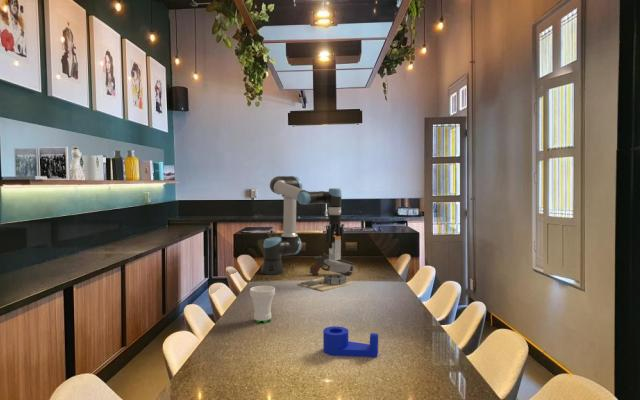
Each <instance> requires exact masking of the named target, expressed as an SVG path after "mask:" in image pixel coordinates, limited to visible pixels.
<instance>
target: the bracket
mask: <svg viewBox="0 0 640 400" xmlns="http://www.w3.org/2000/svg"><path fill="white" fill-rule="evenodd" d="M322 332H323V333H322V334H323V337H322V338H323V339H322V340H323V346H322V347H323V348H322V349H323V351H322V352H323V354H326V355H328V356H333V357H334V356H335V357H357V358H358V357H360V358H363V357H364V358H378V356H379V355H378V354H379V333H375V332H370V334H369V335H370V336H369V343H363V342H355V341H349V329H348V328H346V327H344V326H337V325H335V326H328V327H325V328H323V331H322Z"/></svg>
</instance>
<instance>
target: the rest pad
mask: <svg viewBox="0 0 640 400" xmlns="http://www.w3.org/2000/svg"><path fill="white" fill-rule="evenodd" d="M312 280H313V279H309V280H305V281H306V282H305V281H302V283H301V282H300V283H301V284H305V285H309V286H313V285H317V284H322V283H321V282H317V281H312Z"/></svg>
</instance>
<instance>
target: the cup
mask: <svg viewBox="0 0 640 400" xmlns="http://www.w3.org/2000/svg"><path fill="white" fill-rule="evenodd" d="M249 295H250V297H251V300H252V303H253V304H252V305H253V309H254V313H253V319H254V321H255V322H256V323H261V322H263V323H264V324H266V323H267V322H268V321H269V322H270V321H271V320H272V312H271V311H272V303H273V299H274V296H275V295H276V288H275V286H271V285H258V286H256V285H255V286H253V287H250V288H249Z"/></svg>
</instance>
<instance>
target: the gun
mask: <svg viewBox="0 0 640 400" xmlns="http://www.w3.org/2000/svg"><path fill="white" fill-rule="evenodd" d="M313 259H314V260H316V262H315V263H313V264H311V265H310V267H309V270H308V274H311V275H314V276H318V275H319V271H320V269H322V271H325V272H334V273H335V274H341V275H345V276H346V277H347V276H351V275H352V274H353V273H354V269H355V264H354V262H352V261H349V260H345V259H342V258H341V259H340V260H330V259H329V254H327V253H322V256H321V255H319V256H314V257H313ZM326 267H327V268H326Z"/></svg>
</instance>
